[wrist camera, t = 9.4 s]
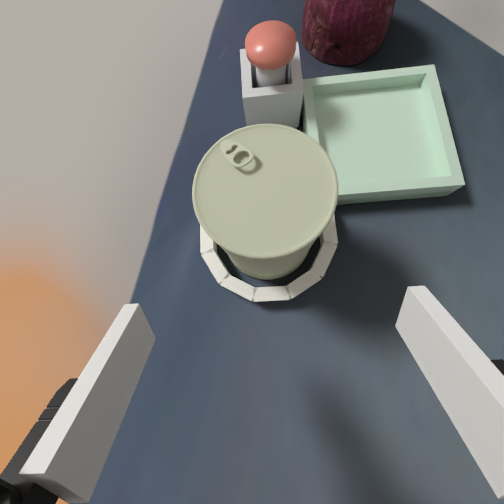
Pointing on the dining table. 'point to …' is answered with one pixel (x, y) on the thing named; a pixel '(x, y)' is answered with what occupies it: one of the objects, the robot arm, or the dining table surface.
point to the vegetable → (345, 29)
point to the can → (265, 197)
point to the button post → (272, 95)
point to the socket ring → (279, 292)
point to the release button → (270, 51)
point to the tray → (384, 134)
